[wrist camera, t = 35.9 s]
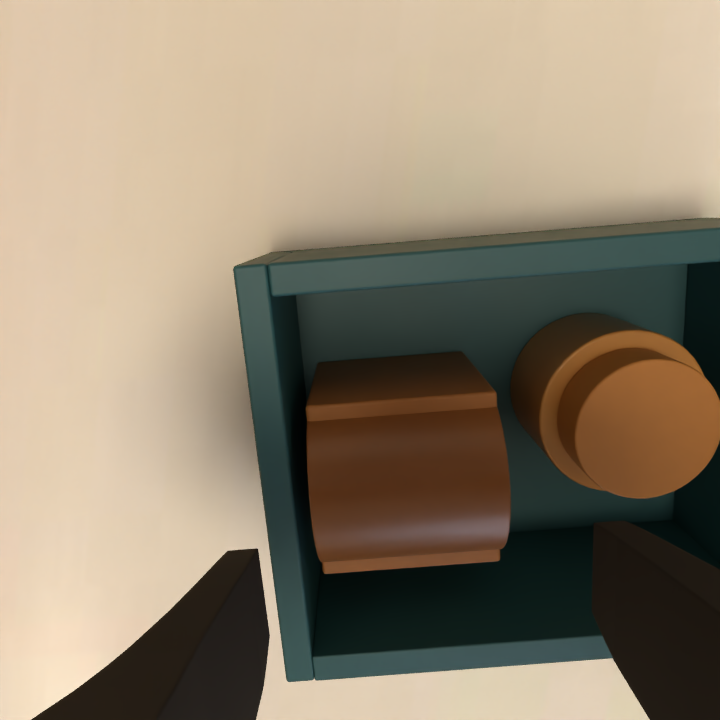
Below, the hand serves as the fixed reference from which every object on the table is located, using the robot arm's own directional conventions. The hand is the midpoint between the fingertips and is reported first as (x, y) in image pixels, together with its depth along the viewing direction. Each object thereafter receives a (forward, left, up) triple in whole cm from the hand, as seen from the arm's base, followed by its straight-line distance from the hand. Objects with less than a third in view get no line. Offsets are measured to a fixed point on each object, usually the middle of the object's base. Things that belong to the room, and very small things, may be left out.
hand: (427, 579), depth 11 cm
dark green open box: (-4, -1, -9) cm, 10 cm away
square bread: (0, 0, -9) cm, 9 cm away
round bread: (-6, -1, -9) cm, 11 cm away
